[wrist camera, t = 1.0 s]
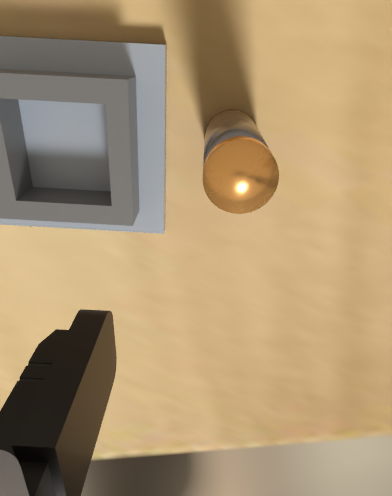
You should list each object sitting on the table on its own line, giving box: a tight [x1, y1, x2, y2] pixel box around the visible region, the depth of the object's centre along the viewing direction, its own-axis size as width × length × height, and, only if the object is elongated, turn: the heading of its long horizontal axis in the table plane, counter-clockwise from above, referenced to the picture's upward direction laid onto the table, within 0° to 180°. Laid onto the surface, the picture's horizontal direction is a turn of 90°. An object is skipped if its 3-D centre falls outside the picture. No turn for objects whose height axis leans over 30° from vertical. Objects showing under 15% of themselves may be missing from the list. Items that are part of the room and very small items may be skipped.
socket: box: [0, 36, 167, 234], centre depth 27 cm, size 14×14×4 cm
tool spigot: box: [203, 110, 279, 214], centre depth 24 cm, size 4×4×10 cm
